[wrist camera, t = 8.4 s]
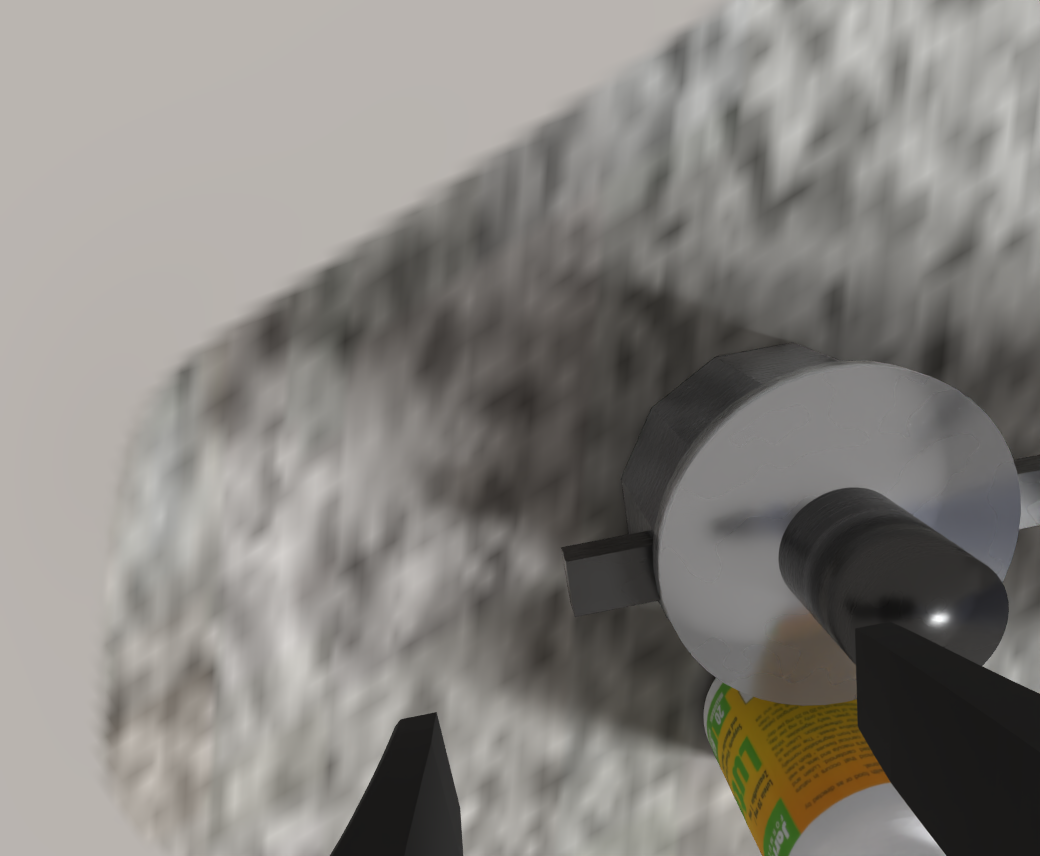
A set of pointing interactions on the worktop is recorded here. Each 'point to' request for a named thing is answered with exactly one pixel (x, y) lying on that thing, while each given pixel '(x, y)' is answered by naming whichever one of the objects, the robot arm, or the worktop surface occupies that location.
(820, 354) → the pot
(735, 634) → the lid
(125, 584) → the worktop surface
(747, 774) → the supplement bottle
